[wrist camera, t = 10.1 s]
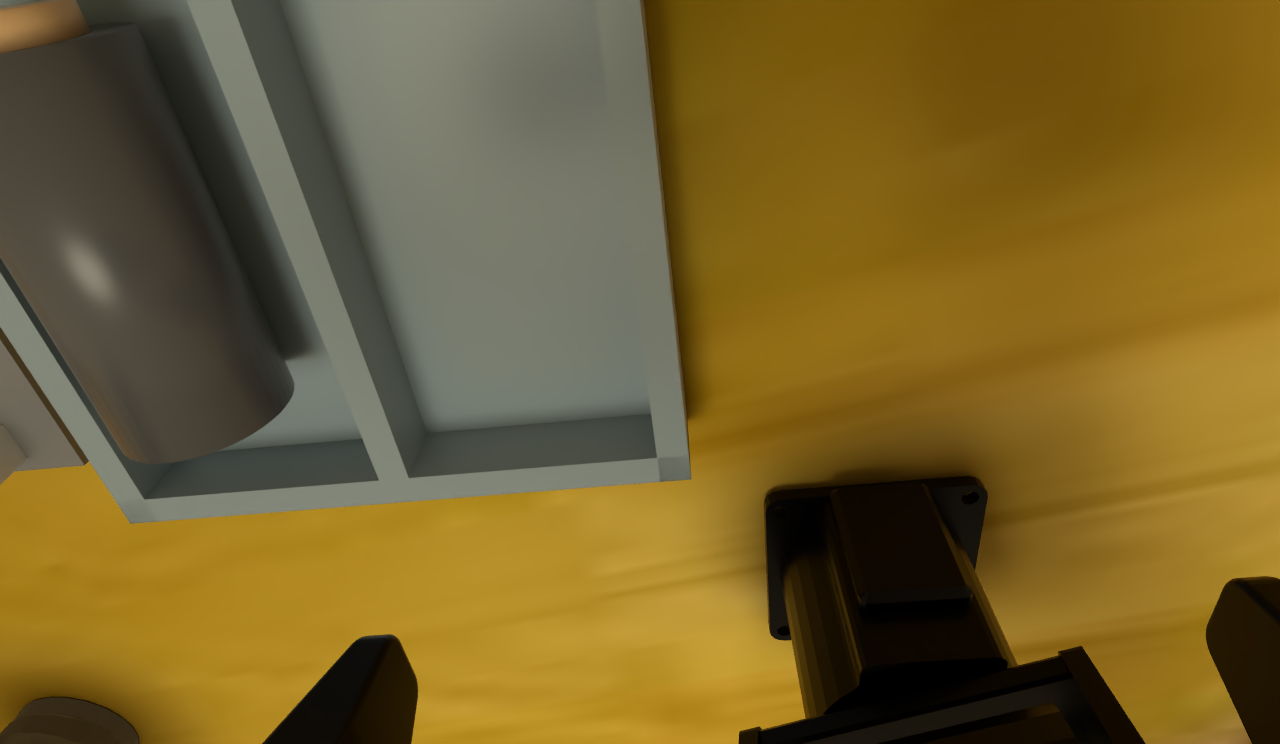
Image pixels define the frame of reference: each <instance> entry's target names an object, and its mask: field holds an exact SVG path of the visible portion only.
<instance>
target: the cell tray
mask: <svg viewBox="0 0 1280 744" xmlns="http://www.w3.org/2000/svg"><path fill="white" fill-rule="evenodd" d="M32 1H39V0H0V6H6V5H12V4H19V3H25V2H32ZM76 2H77V4H78V6H79V8H80V10H81V12H82V14H83V16H84V19H85V21H86V23H87V25H88V26H91V25H100V24H109V23H122V22H133V23H137V25H138V27H139V30H140V32H141V34H142V37H143V39H144V41H145V43H146V46H147V48H148V50H149V52H150V55H151V57H152V59H153V62H154V64H155V66H156V68H157V71H158V73H159V75H160V77H161V80H162V82H163V84H164V87H165V89H166V91H167V93H168V96H169V98H170V100H171V103H172V105H173V107H174V109H175V112H176V114H177V116H178V118H179V121H180V123H181V125H182V128H183V130H184V132H185V134H186V137H187V139H188V141H189V143H190V146H191V148H192V150H193V153H194V155H195V157H196V159H197V162H198V164H199V166H200V168H201V171H202V173H203V175H204V178H205V180H206V182H207V184H208V187H209V189H210V191H211V194H212V196H213V198H214V200H215V203H216V205H217V207H218V209H219V212H220V214H221V216H222V219H223V221H224V223H225V225H226V228H227V230H228V232H229V234H230V237H231V239H232V241H233V244H234V246H235V248H236V250H237V253H238V255H239V257H240V259H241V262H242V264H243V266H244V269H245V271H246V273H247V275H248V278H249V280H250V282H251V285H252V287H253V289H254V291H255V294H256V296H257V298H258V300H259V303H260V305H261V307H262V310H263V312H264V314H265V316H266V319H267V321H268V323H269V325H270V328H271V330H272V332H273V335H274V337H275V339H276V341H277V344H278V346H279V348H280V350H281V353H282V355H283V357H284V360H285V362H286V364H287V366H288V369H289V371H290V373H291V375H292V378H293V380H294V384H295V385H294V392H293V396H292V398H291V400H290V401H289V403H288V404H287V406H286V407H285V408H284V409H283V410H282V411H281V413H280V414H279V415H277V416H276V417H275V418H274V419H273V420H272V421H271V422H269V423H268V424H267V425H265V426H264V427H263V428H261V429H260V430H258V431H257V432H255V433H254V434H252V435H250V436H248V437H247V438H245V439H243V440H241V441H239V442H237V443H235V444H233V445H231V446H228V447H226V448H224V449H221V450H219V451H216V452H213V453H210V454H208V455H204V456H201V457H198V458H194V459H190V460H185V461H180V462H173V463H163V464H149V463H141V462H138V461H134V460H132V459H130V458H128V457H126V456H125V455H124V454H123V453H122V451H121V449H120V448H119V446H118V445H117V443H116V441H115V440H114V438H113V437H112V435H111V433H110V432H109V430H108V429H107V427H106V426H105V424H104V422H103V421H102V419H101V418H100V416H99V414H98V413H97V411H96V410H95V408H94V406H93V405H92V403H91V402H90V400H89V398H88V397H87V395H86V394H85V392H84V390H83V389H82V387H81V386H80V384H79V382H78V381H77V379H76V378H75V376H74V374H73V373H72V371H71V370H70V368H69V366H68V365H67V363H66V362H65V360H64V358H63V357H62V355H61V354H60V352H59V350H58V349H57V347H56V346H55V344H54V342H53V341H52V339H51V338H50V336H49V334H48V333H47V331H46V330H45V328H44V326H43V325H42V323H41V322H40V320H39V319H38V317H37V315H36V314H35V312H34V311H33V309H32V307H31V306H30V304H29V303H28V301H27V299H26V298H25V296H24V295H23V293H22V291H21V290H20V288H19V287H18V285H17V283H16V282H15V280H14V279H13V277H12V275H11V274H10V272H9V271H8V269H7V267H6V266H5V264H4V263H3V261H2V259H1V258H0V327H1V329H2V330H3V332H4V333H5V335H6V336H7V338H8V339H9V341H10V342H11V344H12V345H13V347H14V348H15V350H16V351H17V353H18V354H19V356H20V357H21V359H22V360H23V362H24V363H25V365H26V366H27V368H28V369H29V371H30V372H31V374H32V376H33V377H34V379H35V380H36V382H37V383H38V385H39V386H40V388H41V389H42V391H43V392H44V394H45V395H46V397H47V398H48V400H49V401H50V403H51V404H52V406H53V407H54V409H55V410H56V412H57V413H58V415H59V416H60V418H61V419H62V421H63V422H64V424H65V425H66V427H67V428H68V430H69V431H70V433H71V434H72V436H73V437H74V439H75V440H76V442H77V443H78V445H79V446H80V448H81V449H82V451H83V452H84V454H85V455H86V457H87V459H88V460H89V462H90V463H91V465H92V466H93V468H94V469H95V471H96V472H97V474H98V475H99V477H100V478H101V480H102V481H103V483H104V484H105V486H106V487H107V489H108V490H109V492H110V493H111V495H112V496H113V498H114V499H115V501H116V502H117V504H118V505H119V507H120V508H121V510H122V511H123V513H124V514H125V516H126V517H127V519H128V520H129V522H130V523H144V522H156V521H169V520H182V519H194V518H207V517H220V516H232V515H245V514H258V513H270V512H283V511H296V510H308V509H321V508H334V507H346V506H359V505H372V504H384V503H397V502H409V501H422V500H435V499H447V498H460V497H473V496H485V495H498V494H511V493H523V492H536V491H549V490H561V489H574V488H587V487H599V486H612V485H625V484H637V483H650V482H663V481H675V480H688V479H691V469H690V453H689V436H688V420H687V411H686V401H685V392H684V382H683V373H682V363H681V353H680V344H679V334H678V325H677V315H676V306H675V296H674V286H673V277H672V267H671V258H670V248H669V239H668V229H667V220H666V210H665V200H664V191H663V181H662V172H661V162H660V153H659V143H658V133H657V124H656V114H655V105H654V95H653V86H652V76H651V67H650V57H649V47H648V38H647V28H646V19H645V9H644V0H76Z"/></svg>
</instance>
